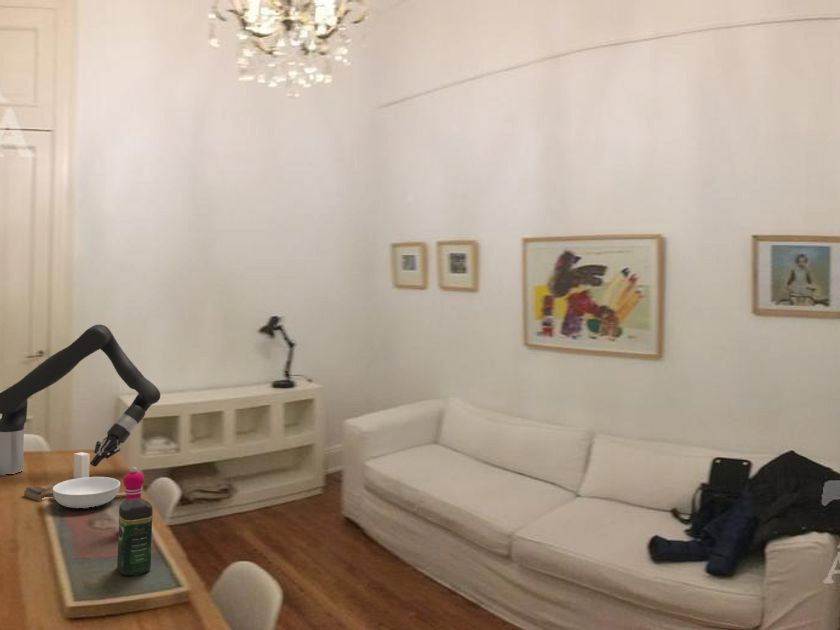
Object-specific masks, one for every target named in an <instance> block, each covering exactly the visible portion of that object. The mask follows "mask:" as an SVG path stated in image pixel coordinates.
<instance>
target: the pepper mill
mask: <svg viewBox="0 0 840 630" xmlns="http://www.w3.org/2000/svg"><path fill="white" fill-rule="evenodd" d="M122 483H123V486H124V487H125V488H124V494H125V496H126V498H125V500H127V499H134V498H141V495H142V492H143V485H144V483H145V476H144V474H143V473H141V472H139V471H138V468H137V467H136V466H133V467H132V468H131V471H130V472H128V473H127V474H125V476H124V478H123V482H122ZM141 499H142V498H141Z"/></svg>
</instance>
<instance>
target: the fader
mask: <svg viewBox="0 0 840 630" xmlns="http://www.w3.org/2000/svg"><path fill="white" fill-rule="evenodd" d="M90 457H91V455H90V453H87V452H83V451H81V452H76V453H73V476H72V477H70V480H71V479H77V478H85V477H89V476H90V465H91V464H90V462H91V460H90V459H91V458H90Z"/></svg>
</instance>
